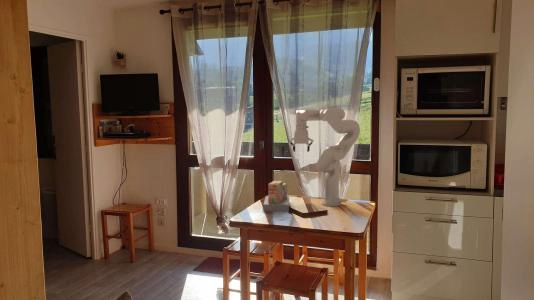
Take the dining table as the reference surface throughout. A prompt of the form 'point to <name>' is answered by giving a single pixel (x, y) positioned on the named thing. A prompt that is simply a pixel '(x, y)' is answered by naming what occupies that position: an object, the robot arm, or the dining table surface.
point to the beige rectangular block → (276, 191)
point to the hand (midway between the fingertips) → (301, 151)
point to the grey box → (276, 205)
